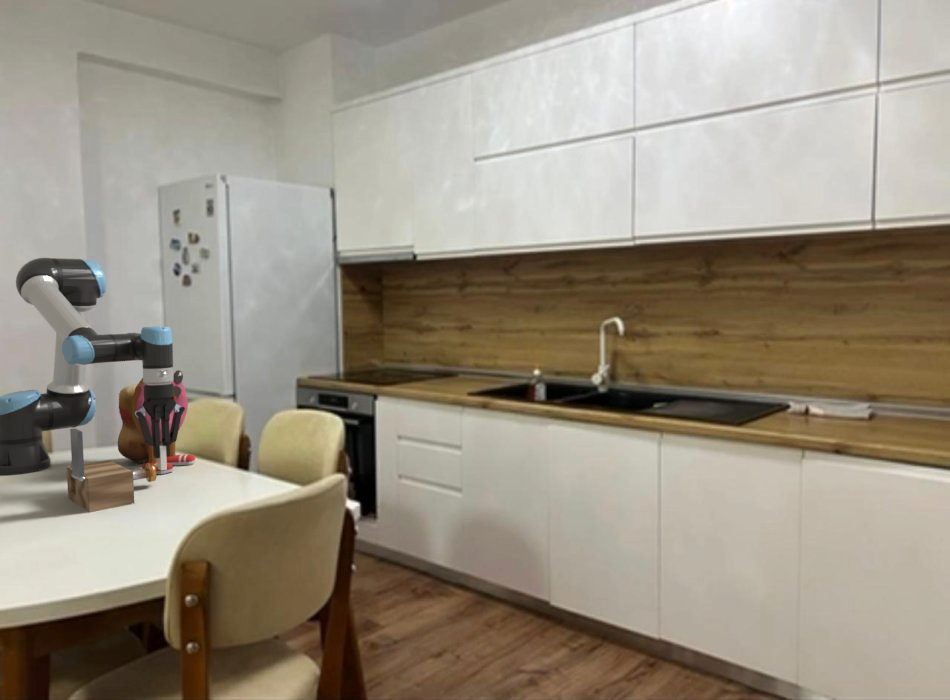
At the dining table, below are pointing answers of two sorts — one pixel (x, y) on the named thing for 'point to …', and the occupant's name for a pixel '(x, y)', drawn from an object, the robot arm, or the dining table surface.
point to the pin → (145, 473)
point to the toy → (137, 404)
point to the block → (102, 486)
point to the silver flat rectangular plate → (77, 454)
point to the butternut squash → (131, 430)
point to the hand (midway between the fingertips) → (162, 469)
